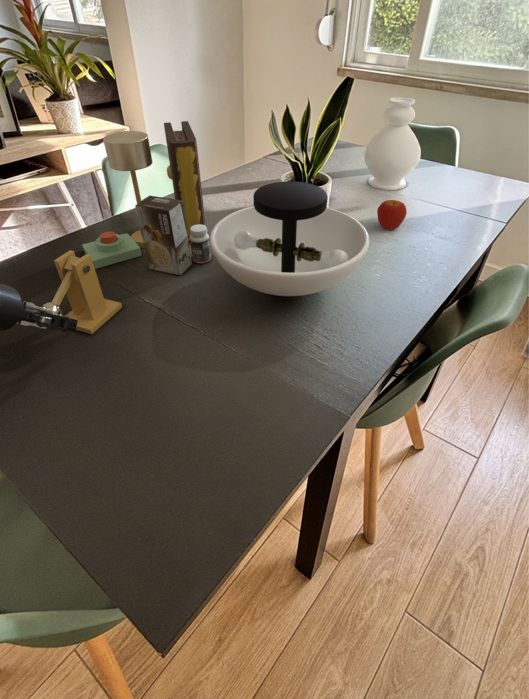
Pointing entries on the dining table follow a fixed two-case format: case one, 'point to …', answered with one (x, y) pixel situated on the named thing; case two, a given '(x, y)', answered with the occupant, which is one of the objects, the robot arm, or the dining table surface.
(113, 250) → the green push button base
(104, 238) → the power button
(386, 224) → the apple
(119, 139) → the desk lamp
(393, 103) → the decorative vase
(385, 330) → the dining table surface
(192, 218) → the book
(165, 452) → the dining table surface
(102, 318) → the switch bracket
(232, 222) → the light fixture
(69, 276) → the lamp switch
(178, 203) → the coffee box
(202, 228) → the pill bottle
